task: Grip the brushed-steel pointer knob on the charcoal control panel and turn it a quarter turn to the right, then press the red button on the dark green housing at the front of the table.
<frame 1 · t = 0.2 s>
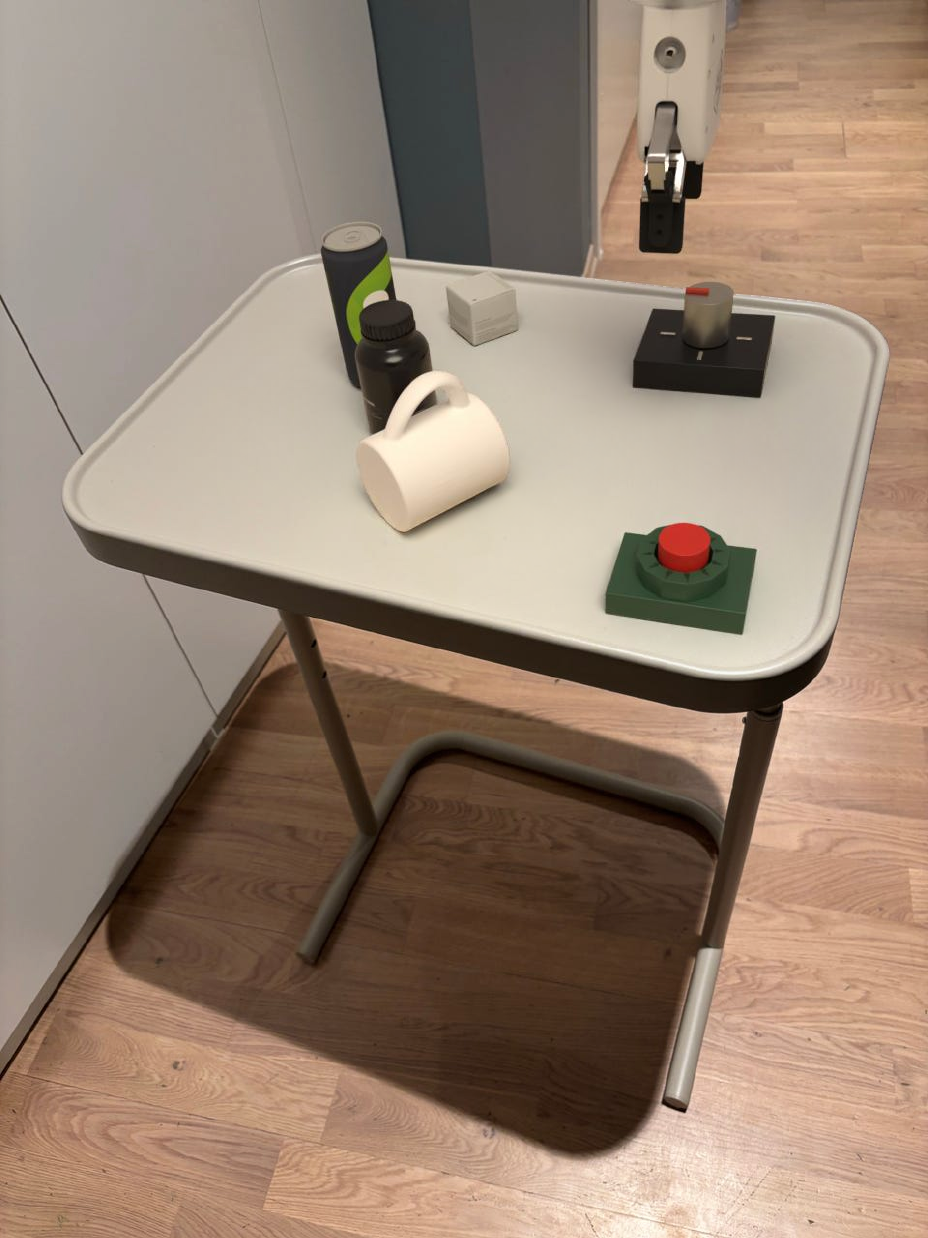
hand: (671, 223, 74), 18 cm above the table, tool pointing down, fingers open, 9 cm apart
dial: (707, 313, 89), point 5 cm above the table, hinge at 0.0°
beverage can: (379, 378, 98), on the table
dial panel: (703, 364, 93), on the table
button: (683, 547, 68), point 4 cm above the table, slide at 0.1 cm
small box: (484, 330, 102), on the table
button box: (680, 591, 71), on the table
mug: (439, 501, 82), on the table
supplement bottle: (405, 428, 91), on the table
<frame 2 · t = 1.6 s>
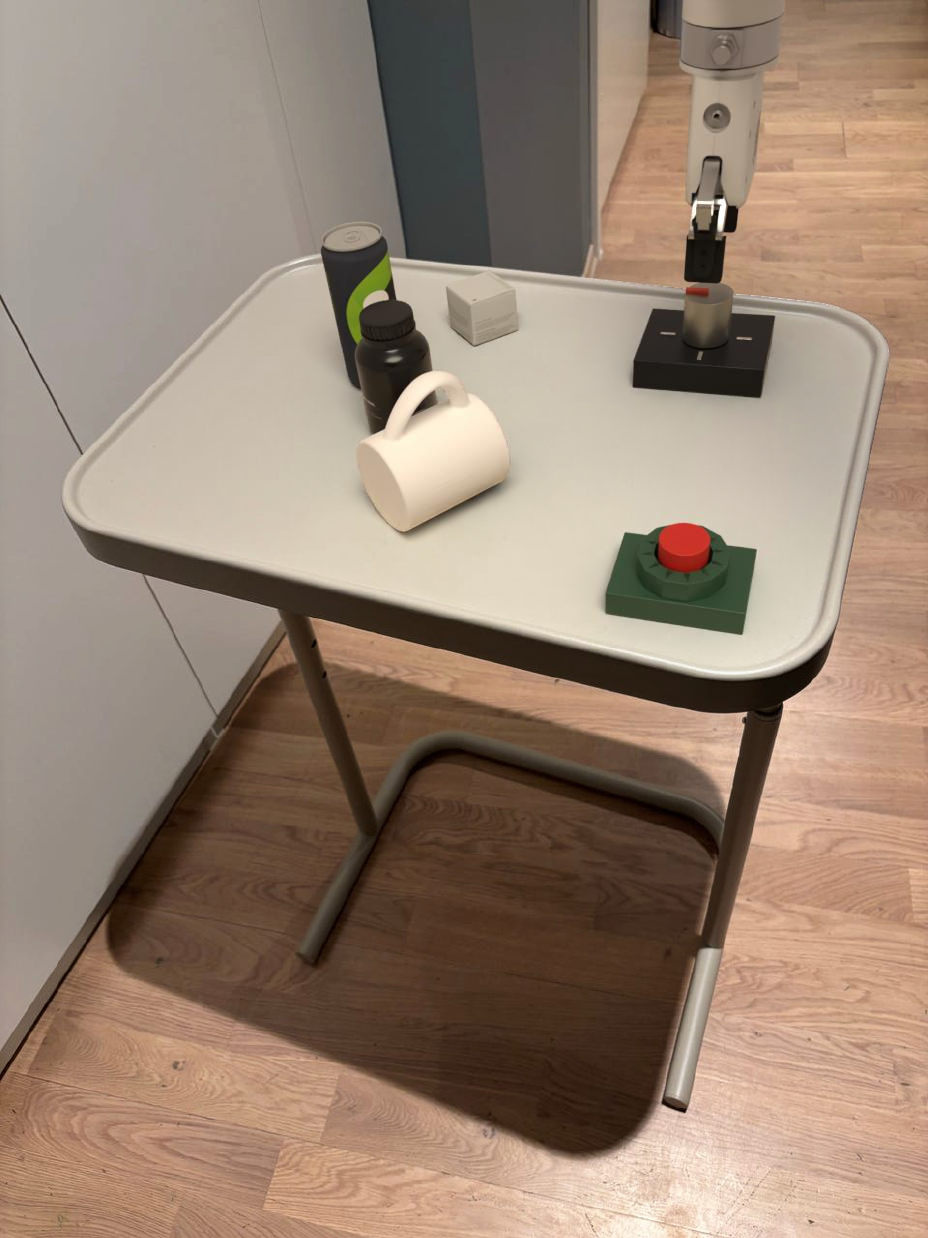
hand: (710, 254, 85), 11 cm above the table, tool pointing down, fingers open, 9 cm apart
nothing on the table moved.
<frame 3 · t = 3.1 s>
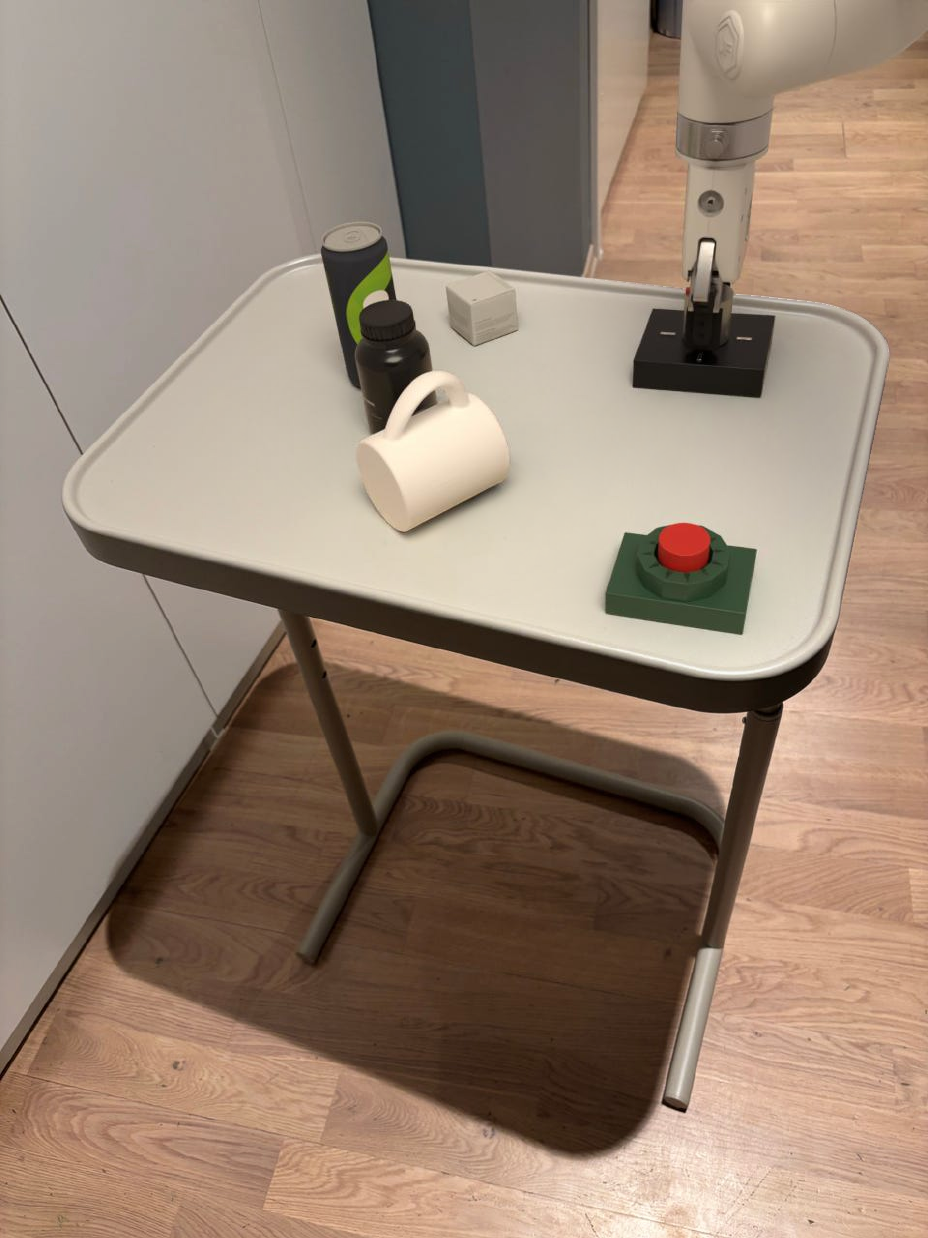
hand: (705, 331, 90), 4 cm above the table, tool pointing down, fingers closed on dial, 4 cm apart
dial: (707, 313, 89), point 5 cm above the table, hinge at -0.1°, touching gripper
everything else where it was.
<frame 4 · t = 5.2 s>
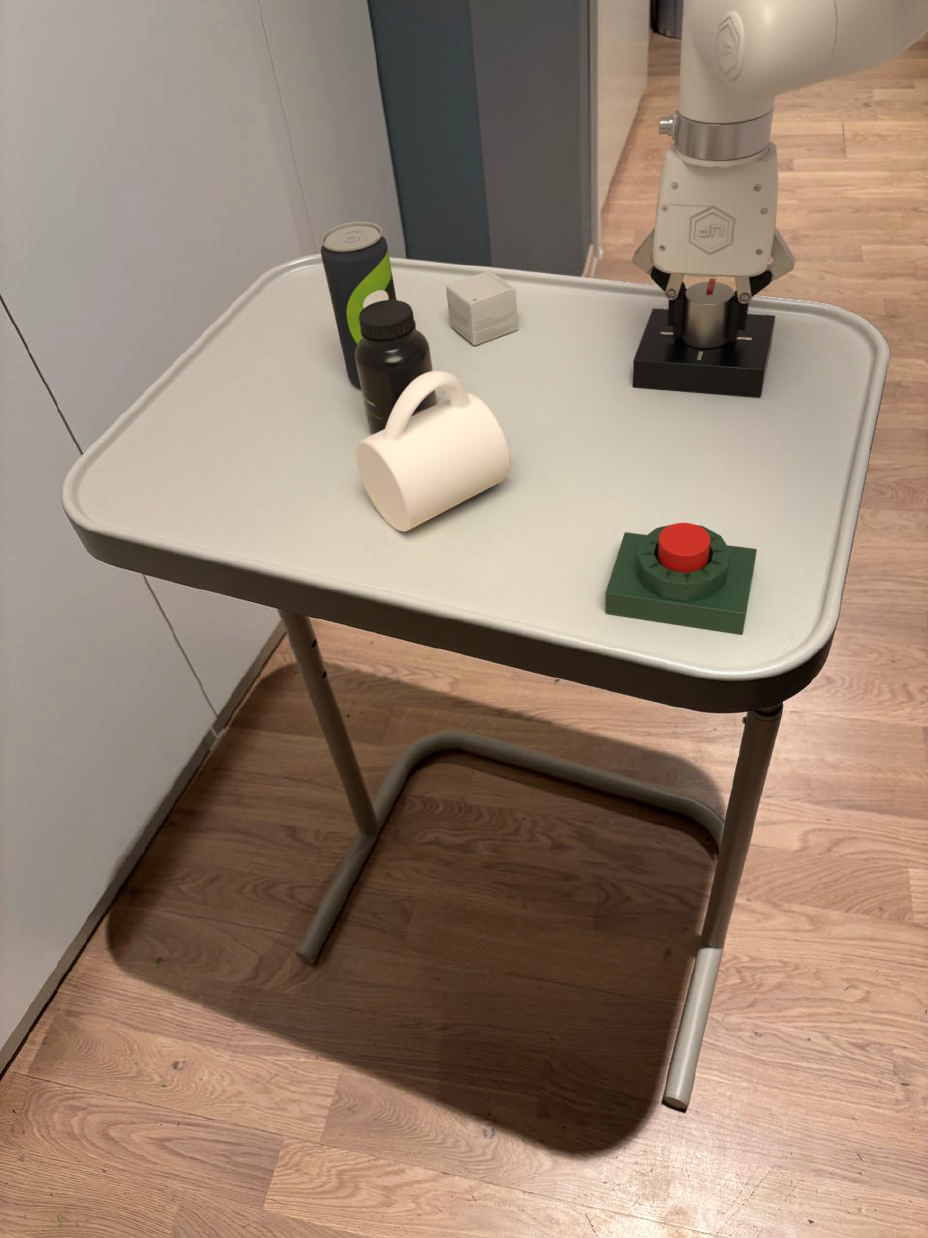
hand: (706, 331, 90), 4 cm above the table, tool pointing down, fingers closed on dial, 4 cm apart
dial: (707, 313, 89), point 5 cm above the table, hinge at -89.4°, touching gripper
everything else where it was.
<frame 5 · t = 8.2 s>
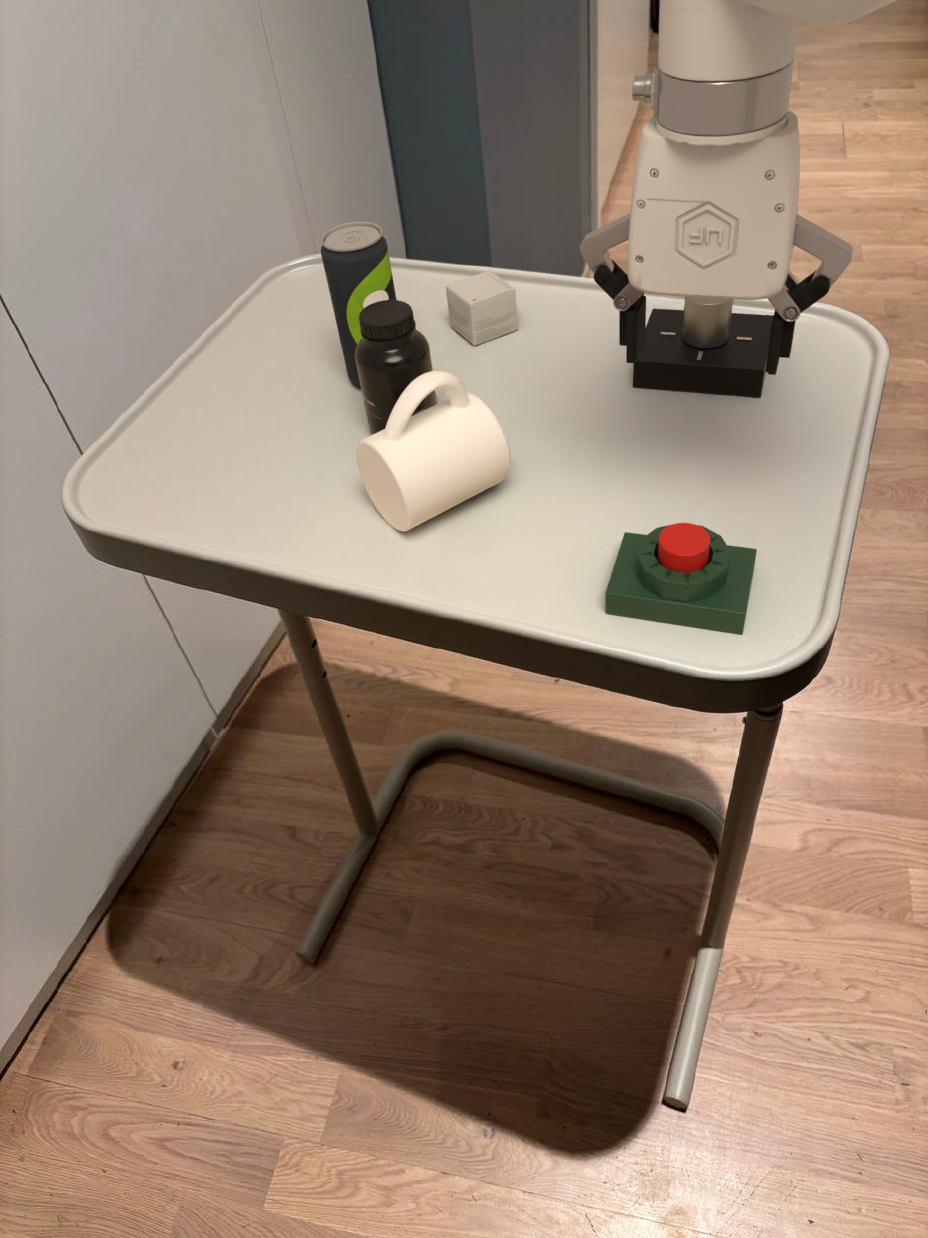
hand: (702, 358, 67), 14 cm above the table, tool pointing down, fingers open, 9 cm apart
dial: (707, 313, 89), point 5 cm above the table, hinge at -86.7°
everything else where it was.
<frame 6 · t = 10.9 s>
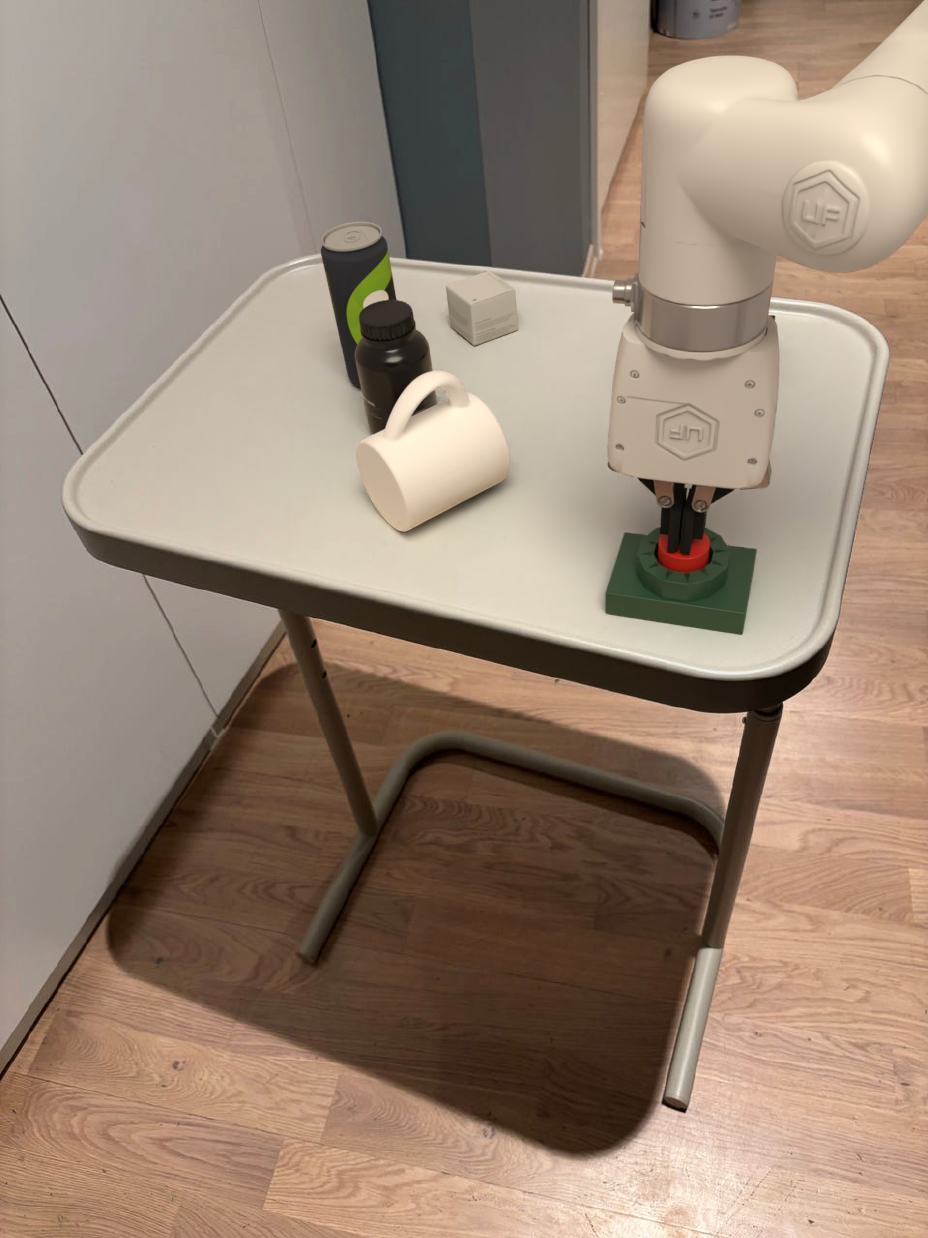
hand: (681, 540, 68), 5 cm above the table, tool pointing down, fingers closed
button: (683, 551, 68), point 4 cm above the table, slide at -0.3 cm, touching gripper
everything else where it was.
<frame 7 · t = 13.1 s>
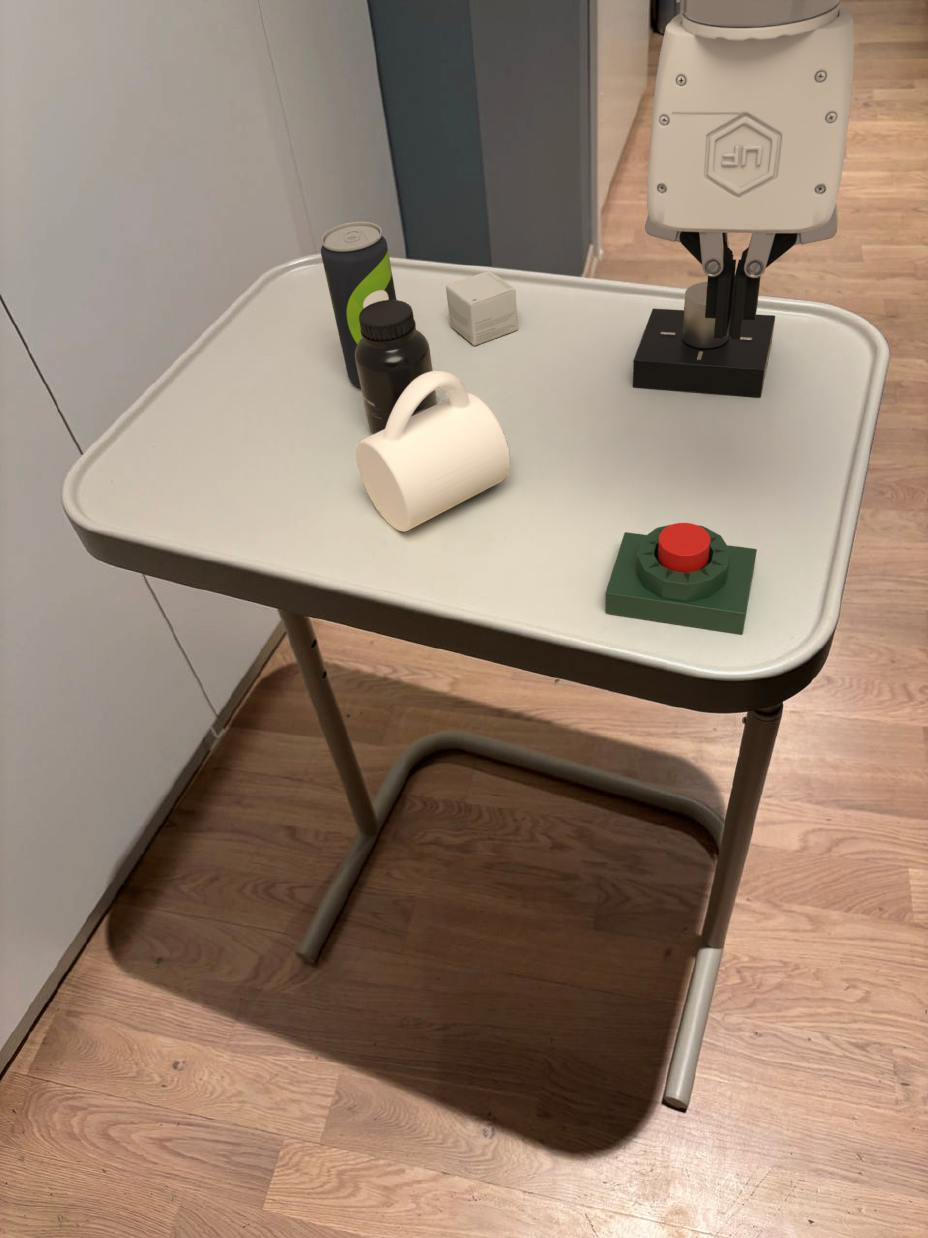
hand: (729, 327, 59), 20 cm above the table, tool pointing down, fingers closed
button: (683, 547, 68), point 4 cm above the table, slide at 0.1 cm
everything else where it was.
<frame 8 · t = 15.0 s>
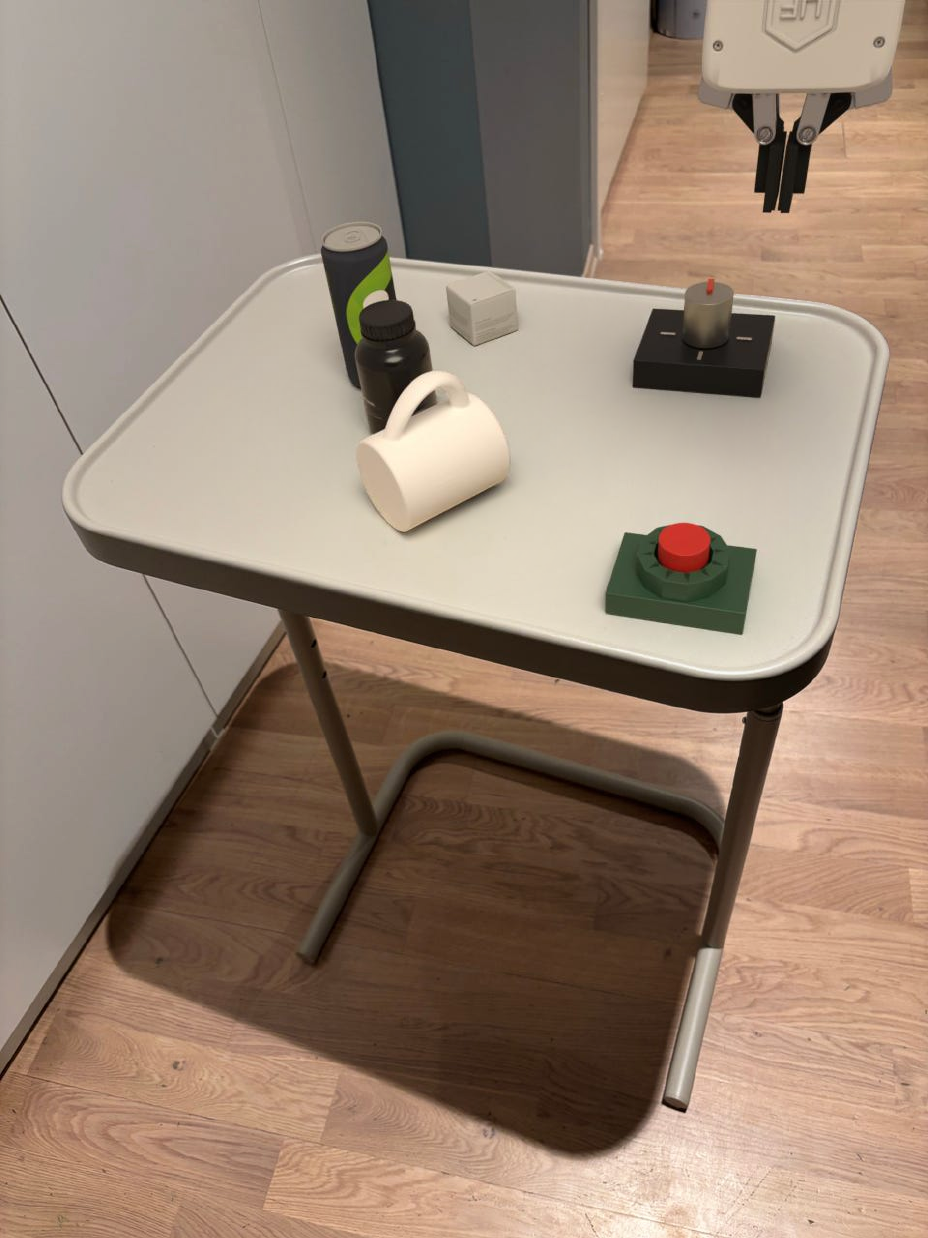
hand: (778, 203, 59), 25 cm above the table, tool pointing down, fingers closed
nothing on the table moved.
at the end: dial at -87° (first picture: +0°); button pushed in 1.1 cm at the most during the clip, back to where it started at the end; button slide at 0.1 cm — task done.
